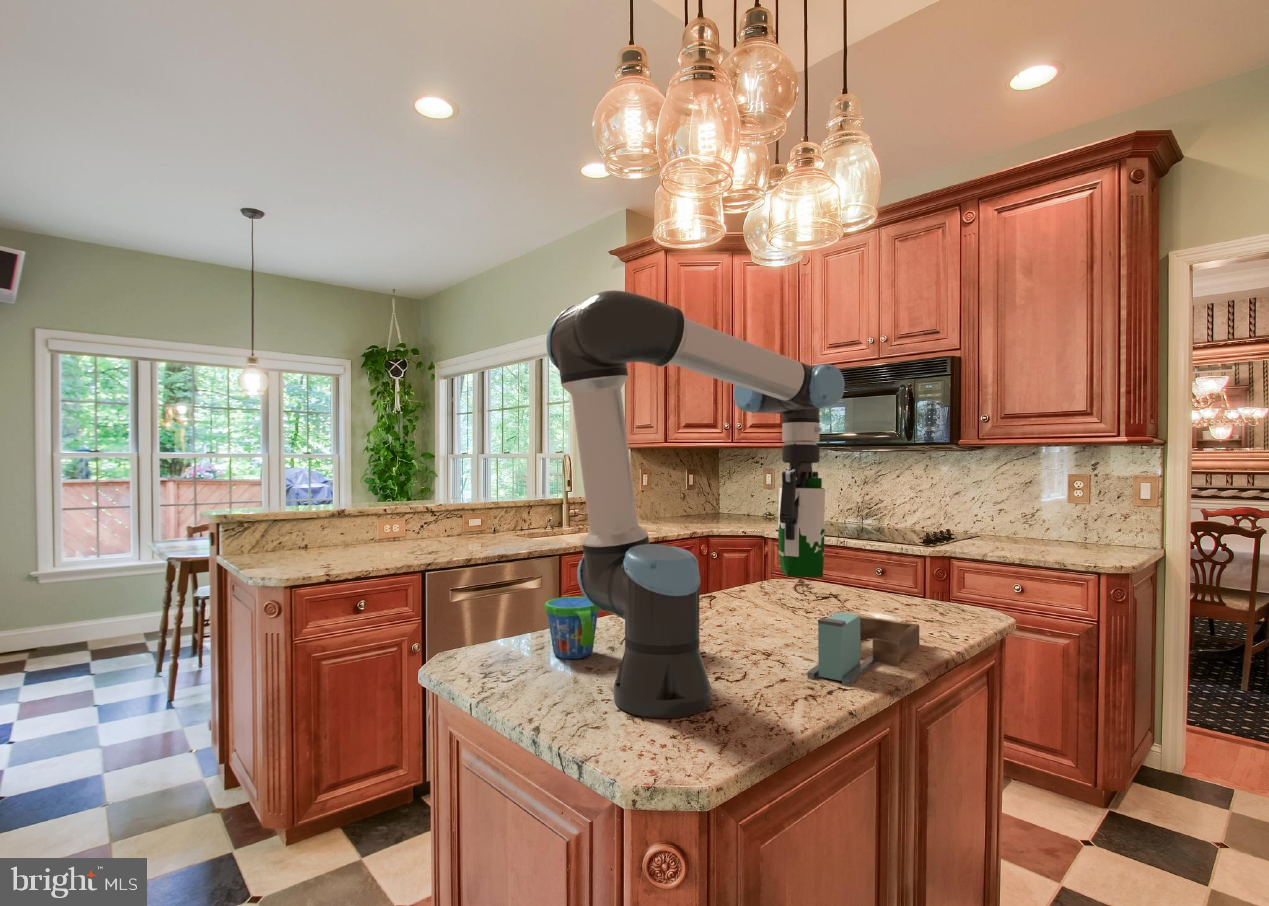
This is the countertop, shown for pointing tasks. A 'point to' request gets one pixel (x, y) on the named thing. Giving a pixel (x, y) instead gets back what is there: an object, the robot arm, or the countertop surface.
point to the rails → (852, 676)
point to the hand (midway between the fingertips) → (800, 553)
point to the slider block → (838, 645)
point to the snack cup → (572, 626)
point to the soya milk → (806, 532)
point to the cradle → (890, 638)
